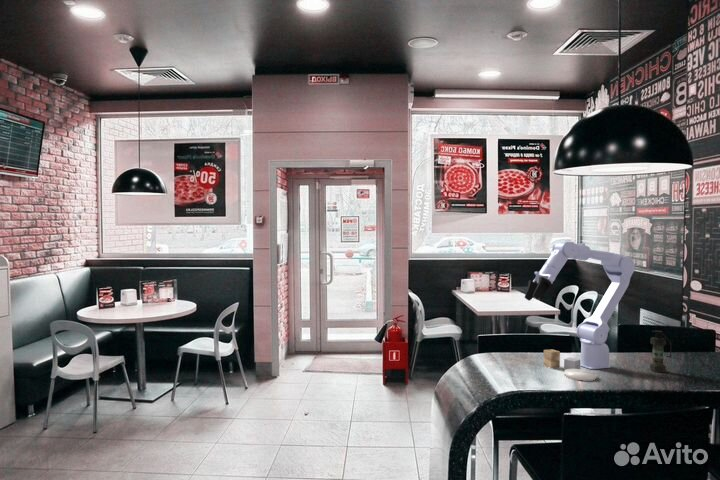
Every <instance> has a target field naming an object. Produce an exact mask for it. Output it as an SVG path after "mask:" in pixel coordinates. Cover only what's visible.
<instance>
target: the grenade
mask: <svg viewBox="0 0 720 480" xmlns="http://www.w3.org/2000/svg"><path fill="white" fill-rule="evenodd" d="M651 332H652V334H653V333H654V337H653V336H652V337H650V339H649V340H650V341H649V343H650V344H651V345H652V363H651V364H649V370H650V371H652V372H655V373H665V372H666V370H667V366H666V365H665V364H664V359H665V358H664V357H666V358H672V341H671V340H670V338H668V337H667V336H666V334H665V333H664V332H663V331H662V329H660V330H651ZM667 342H668V345H670V347H669V350H670V351H669V356H668V355H665V356H664V347H665V346H666V345H667Z"/></svg>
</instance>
